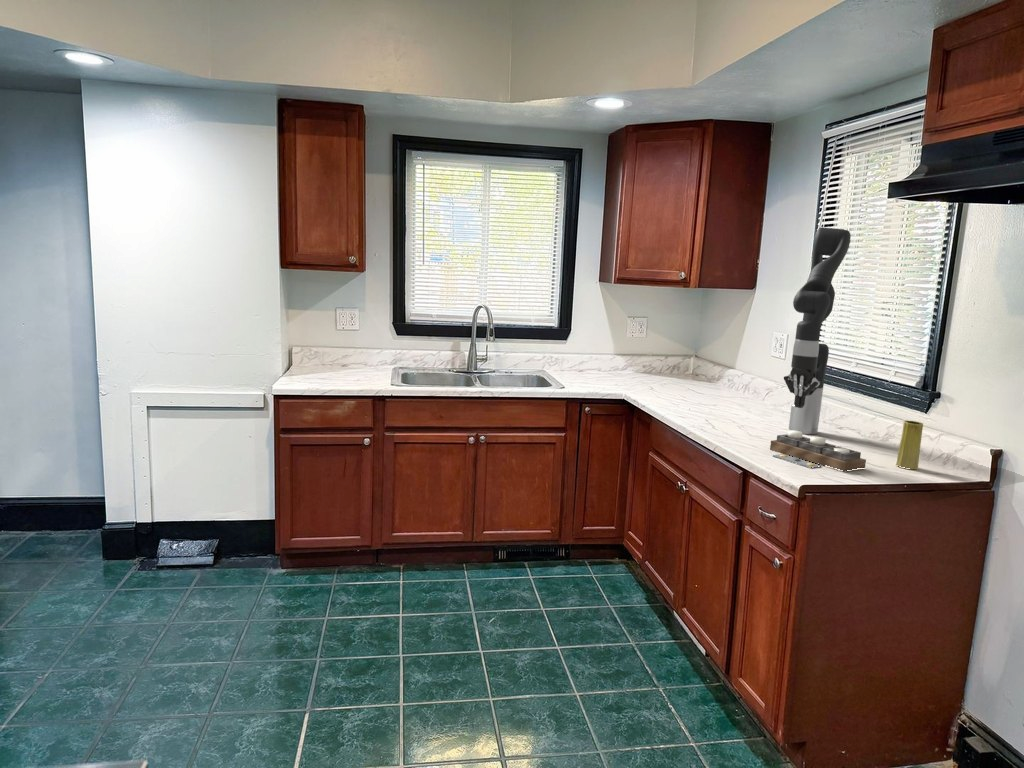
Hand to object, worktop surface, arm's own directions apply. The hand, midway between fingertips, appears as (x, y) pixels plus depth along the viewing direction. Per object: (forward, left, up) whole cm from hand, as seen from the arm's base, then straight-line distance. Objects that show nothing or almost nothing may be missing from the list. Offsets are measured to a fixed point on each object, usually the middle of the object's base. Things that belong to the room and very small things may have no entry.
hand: (798, 407), depth 223 cm
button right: (+17, 0, -12) cm, 21 cm away
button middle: (+8, 0, -10) cm, 13 cm away
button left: (0, 0, -10) cm, 10 cm away
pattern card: (+8, -9, -15) cm, 19 cm away
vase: (+25, +21, -15) cm, 36 cm away
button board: (+8, 0, -15) cm, 17 cm away
